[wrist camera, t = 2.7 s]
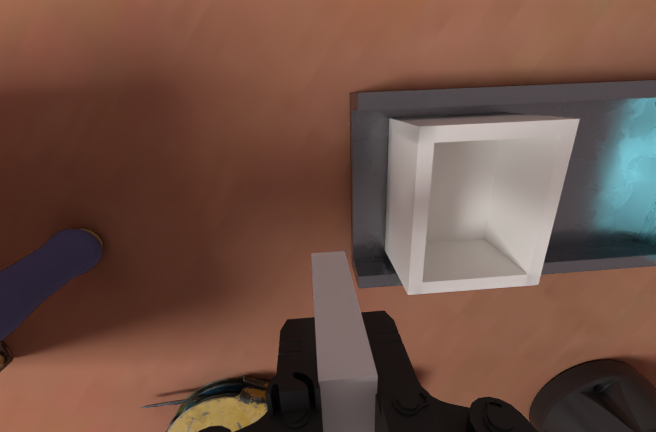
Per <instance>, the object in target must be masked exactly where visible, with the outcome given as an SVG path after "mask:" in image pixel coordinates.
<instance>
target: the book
mask: <svg viewBox="0 0 656 432" xmlns="http://www.w3.org/2000/svg"><path fill="white" fill-rule="evenodd" d="M12 360H13V356H12V355H11V353H10V351H9V350H8V348H7V347H6V345H5V344H4V342H3V340H2V341H0V372H1V371H2V370H3V369H4V368H5V367H6V366H7V365H8V364H9V363H10V362H12Z"/></svg>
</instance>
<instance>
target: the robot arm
mask: <svg viewBox="0 0 656 432" xmlns="http://www.w3.org/2000/svg"><path fill="white" fill-rule="evenodd" d="M311 259H312V277H313V296H314V314H315V317H313V318H301V319H289V320H287V321H286V322H285V324H284V326H283V327H282V329H281V330H280V341H279V352H278V353H279V355H278V363H277V374H276V376H274V378H273V379H272V380H271V381H270V382H269V384H268V386H267V389H266V392H265V397H266V404H267V410H268V411H267V412H266V413H265V415H263V416H262V417H261V418H260V419H259V420H257V421H256V422H254V423H252V424H250V425H248V426H246V427H244V428H241V429H239V430H237V431H234V432H656V388H655V387H654V386H653V385H652V384H651V383H650V382H649V381H648V380H647V379H646V378H645V377H644V376H642V375H641V374H640V373H639V372H638V371H637V370H635V369H634V368H633V367H632V366H630V365H628V364H626V363H623V362H620V361H613V360H601V361H594V362H589V363H585V364H582V365H579V366H576V367H574V368H572V369H569V370H567V371H566V372H564V373H562V374H560V375H559V376H557V377H556V378H554V379H553V380H552V381H550V382H549V383H548V384H547V385H546V386H545V387H544V388H543V389H542V390H541V391H540V392H539V393H538V395H537V396H536V398H535V399H534V401H533V403H532V405H531V408H530V413H529V420H530V422H529V421H528V420H527V419H526V418H525V417H524V416H523V415H522V414H521V413H520V412H519V411H518V410H516V409H515V408H514V407H513V406H512V405H510V404H508V403H506V402H504V401H502V400H500V399H497V398H492V397H483V398H478V399H477V400H475V401H474V402H473V403H472V404H471V407H470V408H468V407H463V406H458V405H454V404H449V403H446V402H443V401H440V400H438V399H436V398H434V397H432V396H431V395H430V394H429V393H428V392H427V391H426V390H425V389H424V388H423V387H422V386H421V385H420V383H419V381H418V380H417V377H416V375H415V372H414V370H413V367H412V365H411V362H410V360H409V357H408V355H407V352H406V350H405V347H404V345H403V343H402V340H401V337H400V335H399V333H398V330H397V327H396V325H395V322H394V320H393V319H392V318H391V317H390V316H389V315H388V314H387V313H386V312H385V311H374V312H362V313H361V311H360V307H359V303H358V299H357V296H356V292H355V288H354V284H353V281H352V277H351V273H350V269H349V266H348V262H347V258H346V254H345V251H337V252H323V253H311ZM198 432H232V431H231V430H230V429H229V428H226V427H224V426H221V425H220V426H209V427H207V428H205V429H202V430H200V431H198Z"/></svg>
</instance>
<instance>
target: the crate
mask: <svg viewBox="0 0 656 432" xmlns="http://www.w3.org/2000/svg"><path fill="white" fill-rule="evenodd" d="M579 120H580V119H577V118H566V117H555V116H543V115H532V114H521V113H510V112H507V113H486V114H465V115H443V116H422V117H401V118H389V142H388V172H387V203H386V233H385V251H386V253H387V255H388V257H389V259H390V261H391V263H392V265H393V267H394V269H395V271H396V273H397V275H398V277H399V279H400V280H401V282H402V284H403V286H404V288H405V290H406V292H407V294H408V295H414V294H427V293H440V292H452V291H465V290H478V289H491V288H504V287H517V286H530V285H538V284H539V280H540V276H541V272H542V268H543V264H544V260H545V256H546V252H547V248H548V244H549V240H550V236H551V232H552V228H553V224H554V220H555V216H556V212H557V208H558V204H559V200H560V196H561V192H562V188H563V184H564V180H565V176H566V172H567V168H568V164H569V160H570V156H571V152H572V148H573V144H574V140H575V136H576V132H577V128H578V124H579Z"/></svg>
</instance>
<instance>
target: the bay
mask: <svg viewBox="0 0 656 432" xmlns="http://www.w3.org/2000/svg"><path fill="white" fill-rule="evenodd" d="M507 112H510V113H521V114H532V115H543V116H555V117H566V118H577V119H580V120H579V124H578V128H577V132H576V136H575V140H574V144H573V148H572V152H571V156H570V160H569V164H568V168H567V172H566V176H565V180H564V184H563V188H562V192H561V196H560V200H559V204H558V208H557V212H556V216H555V220H554V224H553V228H552V232H551V236H550V240H549V244H548V248H547V252H546V256H545V260H544V264H543V268H542V272H541V275H542V274H555V273H568V272H581V271H595V270H608V269H621V268H634V267H647V266H656V80H643V81H620V82H596V83H572V84H549V85H525V86H501V87H478V88H454V89H430V90H406V91H383V92H359V93H350V159H351V241H352V267H353V270H354V274H355V277H356V281H357V284H358V288H371V287H384V286H397V285H403V284H402V282H401V280H400V279H399V277H398V275H397V273H396V271H395V269H394V267H393V265H392V263H391V261H390V259H389V257H388V255H387V253H386V251H385V233H386V203H387V172H388V142H389V118H401V117H422V116H443V115H465V114H486V113H507Z"/></svg>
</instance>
